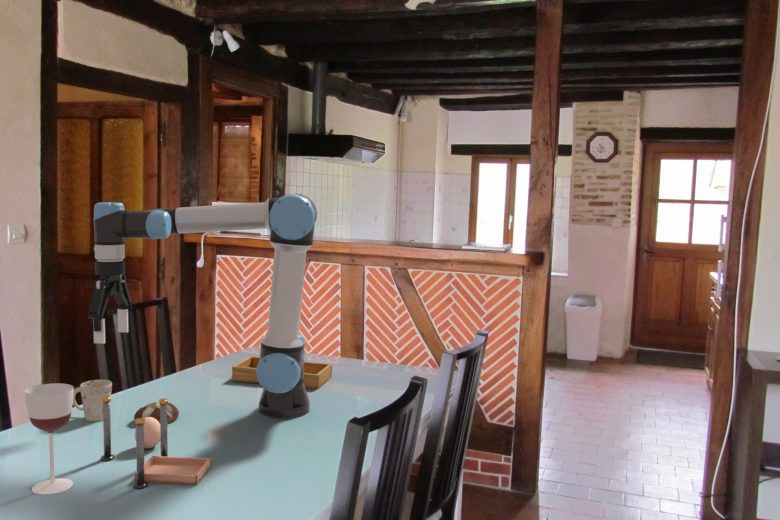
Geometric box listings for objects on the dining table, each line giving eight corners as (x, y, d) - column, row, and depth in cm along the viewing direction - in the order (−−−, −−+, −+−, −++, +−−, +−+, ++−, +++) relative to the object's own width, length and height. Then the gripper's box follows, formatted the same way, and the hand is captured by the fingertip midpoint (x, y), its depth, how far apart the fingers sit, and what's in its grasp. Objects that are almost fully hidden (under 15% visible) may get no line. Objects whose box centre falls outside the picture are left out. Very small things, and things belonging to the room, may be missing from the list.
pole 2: (150, 483, 156) (149, 417, 155) (144, 489, 153) (143, 422, 152) (136, 482, 156) (135, 416, 155) (131, 488, 153) (130, 421, 152)
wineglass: (38, 478, 158) (35, 383, 155) (82, 477, 159) (79, 383, 156) (21, 495, 149) (17, 395, 147) (67, 494, 150) (64, 395, 147)
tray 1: (211, 466, 166) (211, 458, 166) (197, 484, 156) (197, 476, 156) (152, 463, 167) (152, 455, 167) (135, 482, 157) (134, 473, 157)
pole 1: (116, 456, 171) (115, 395, 169) (110, 461, 168) (109, 399, 166) (104, 456, 171) (103, 395, 169) (98, 460, 168) (97, 399, 166)
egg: (136, 454, 173) (136, 423, 172) (133, 445, 178) (132, 415, 178) (164, 450, 176) (164, 419, 175) (160, 441, 182) (159, 411, 181)
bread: (185, 418, 200) (185, 401, 199) (156, 430, 190) (156, 412, 189) (155, 412, 205) (155, 395, 204) (125, 423, 194) (125, 406, 194)
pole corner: (172, 459, 170) (171, 398, 168) (168, 463, 167) (167, 402, 166) (160, 458, 170) (159, 397, 169) (155, 463, 167) (154, 401, 166)
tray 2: (331, 378, 245) (332, 362, 244) (318, 390, 230) (318, 374, 229) (250, 371, 251) (250, 355, 251) (231, 382, 237) (231, 366, 236)
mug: (101, 424, 193) (100, 389, 192) (61, 420, 195) (59, 385, 194) (118, 414, 201) (118, 380, 200) (79, 410, 203) (79, 377, 202)
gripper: (117, 254, 200) (119, 327, 202) (72, 264, 175) (74, 347, 178) (143, 255, 200) (144, 328, 202) (100, 265, 175) (102, 348, 177)
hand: (111, 337), depth 190 cm, fingers open, 13 cm apart
